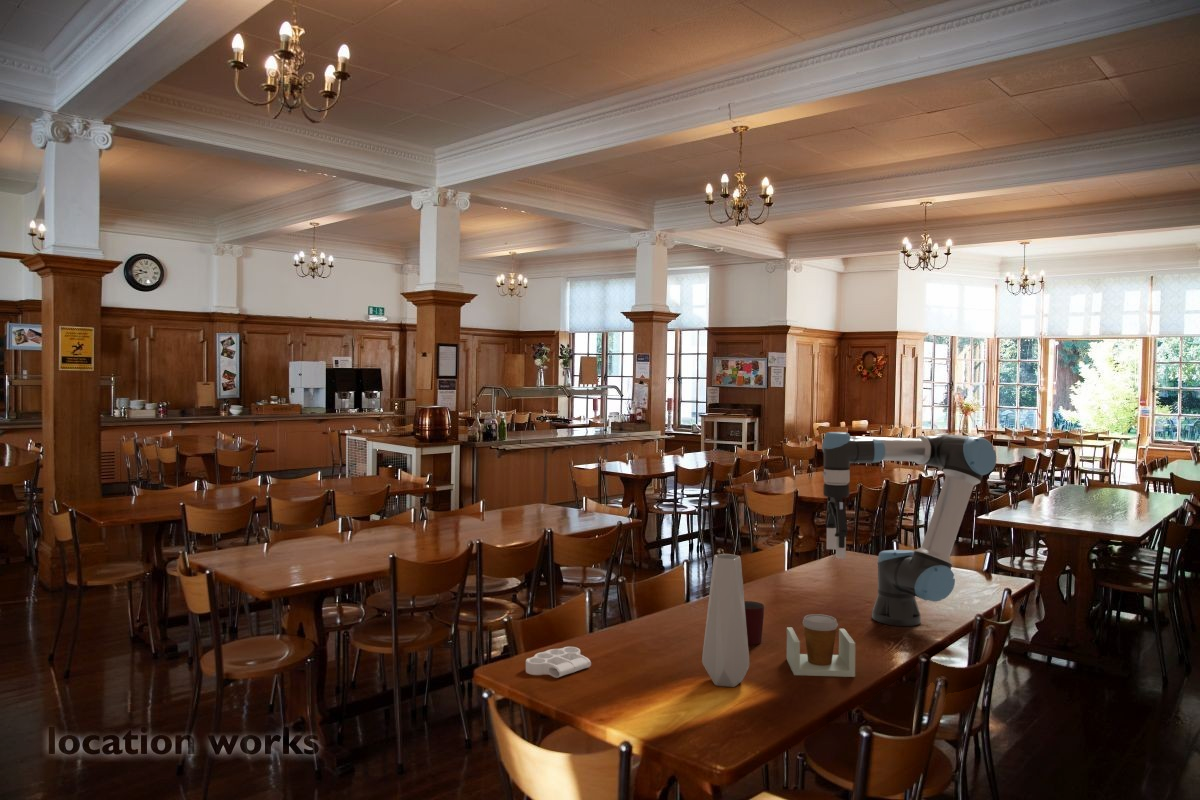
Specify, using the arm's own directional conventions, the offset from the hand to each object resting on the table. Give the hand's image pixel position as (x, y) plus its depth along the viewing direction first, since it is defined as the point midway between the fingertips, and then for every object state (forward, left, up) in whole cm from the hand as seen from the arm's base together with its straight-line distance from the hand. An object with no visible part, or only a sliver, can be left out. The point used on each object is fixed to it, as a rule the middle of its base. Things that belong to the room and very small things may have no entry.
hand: (835, 553), depth 247 cm
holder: (+9, +24, -27) cm, 37 cm away
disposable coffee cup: (+9, +23, -25) cm, 36 cm away
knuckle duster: (+81, +29, -27) cm, 90 cm away
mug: (+27, +3, -27) cm, 38 cm away
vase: (+35, +37, -27) cm, 58 cm away
